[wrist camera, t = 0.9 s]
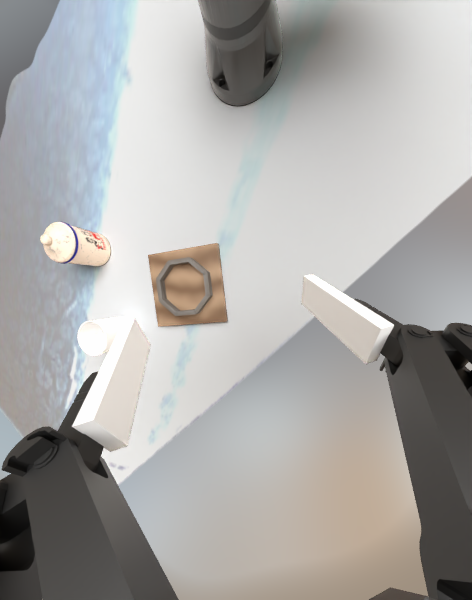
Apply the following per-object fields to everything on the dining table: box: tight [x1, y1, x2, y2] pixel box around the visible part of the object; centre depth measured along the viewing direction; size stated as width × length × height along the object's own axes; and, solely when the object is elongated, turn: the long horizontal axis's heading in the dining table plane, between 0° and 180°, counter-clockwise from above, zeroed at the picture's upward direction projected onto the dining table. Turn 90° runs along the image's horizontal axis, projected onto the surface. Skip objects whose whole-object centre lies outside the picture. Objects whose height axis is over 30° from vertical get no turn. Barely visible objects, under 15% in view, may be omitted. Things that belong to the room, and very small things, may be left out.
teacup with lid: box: [40, 222, 111, 266], centre depth 41 cm, size 12×9×12 cm
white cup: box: [78, 316, 133, 356], centre depth 42 cm, size 8×8×10 cm
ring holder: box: [148, 243, 227, 326], centre depth 41 cm, size 18×18×3 cm
